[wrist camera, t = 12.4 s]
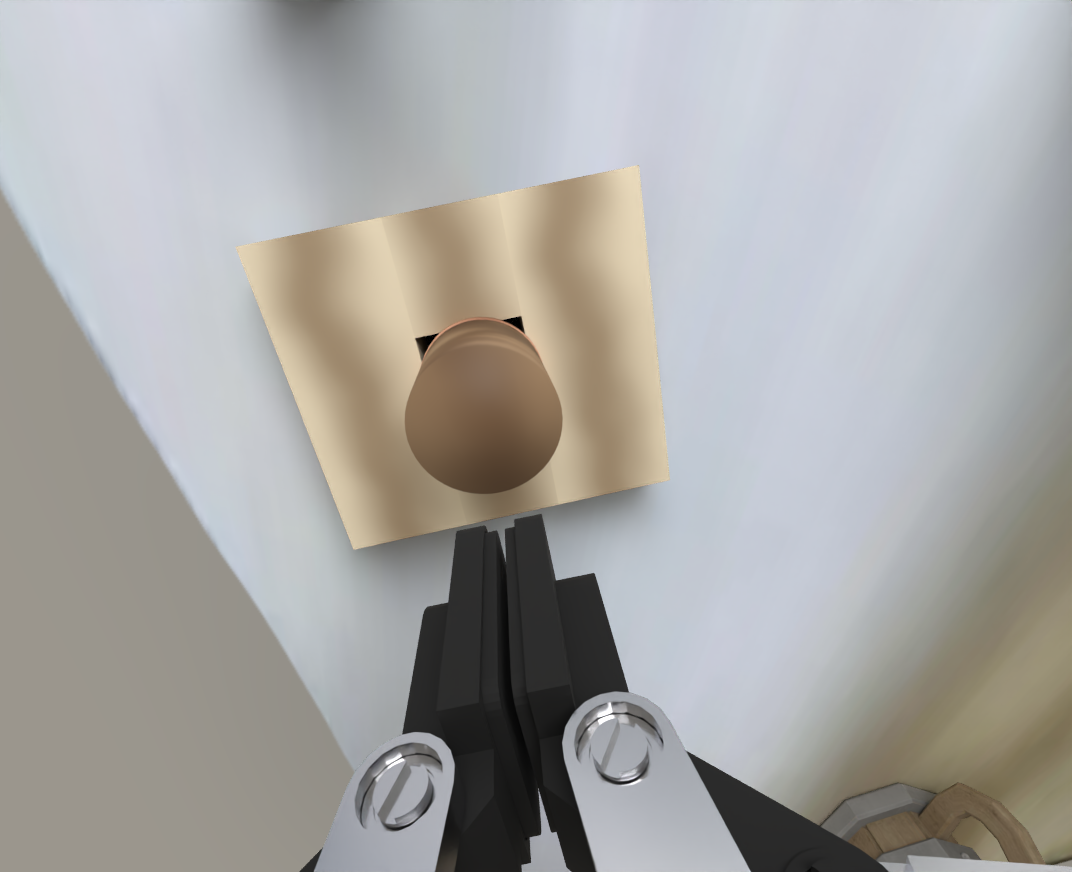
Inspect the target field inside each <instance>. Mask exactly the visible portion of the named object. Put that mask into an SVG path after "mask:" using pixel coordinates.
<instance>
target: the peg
mask: <svg viewBox="0 0 1072 872" xmlns="http://www.w3.org/2000/svg"><path fill="white" fill-rule="evenodd" d="M562 422H563V416H562V407H561V403H560V400H559V397H558V394H557V392H556V389H555V387H554V385H553V383H552V381H551V379H550V377H549V375H548V373H547V371H546V369H545V367H544V365H543V363H542V360H541V357H540V355H539V353H538V351H537V349H536V347H535V345H534V344H533V343H532V341H531V340H530V339H529V338H528V337H527V336H526V335H525V334H524V333H523V332H522V331H521V330H520V329H518V328H517V327H515V326H514V325H512V324H510V323H508V322H505V321H503V320H500V319H496V318H490V317H473V318H467V319H464V320H460V321H458V322H456V323H453V324H452V325H450V326H448V327H447V328H445V329H444V330H443V331H441V332H440V333H439V334H438V335H437V336H436V337H435V338H434V340H433V341H432V342H431V344H430V345H429V347H428V349H427V351H426V353H425V355H424V358H423V361H422V364H421V368H420V370H419V373H418V375H417V377H416V380H415V382H414V385H413V387H412V390H411V392H410V395H409V398H408V401H407V405H406V410H405V432H406V436H407V440H408V443H409V446H410V448H411V451H412V452H413V454H414V456H415V458H416V459H417V461H418V462H419V463H420V465H421V466H422V467H423V468H424V469H425V470H426V471H427V472H428V473H429V474H430V475H431V476H432V477H434V478H435V479H436V480H438V481H440V482H441V483H443V484H444V485H447V486H449V487H451V488H453V489H456V490H459V491H463V492H468V493H474V494H493V493H499V492H504V491H507V490H511V489H513V488H516V487H518V486H520V485H522V484H524V483H526V482H528V481H529V480H530V479H532V478H533V477H535V476H536V475H537V474H538V473H539V472H540V471H541V470H542V469H543V468H544V467H545V466H546V465H547V463H548V462H549V461H550V459H551V458H552V456H553V455H554V453H555V451H556V448H557V446H558V443H559V440H560V437H561V432H562Z"/></svg>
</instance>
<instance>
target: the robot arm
mask: <svg viewBox="0 0 1072 872" xmlns="http://www.w3.org/2000/svg"><path fill="white" fill-rule="evenodd" d="M514 523H515V527H512V528H507V529H505V545H506V562H505V558H504V554H503V550H502V546H501V542H500V538H499V535H498V532H497V531H492V532H488V531H487V529H486V526H480V527H475V528H470V529H465V530H460V531H457V533H456V540H455V549H454V558H453V566H452V575H451V584H450V593H449V601H448V603H444V604H439V605H434V606H429V607H427V608H426V609H425V611H424V614H423V619H422V625H421V630H420V636H419V642H418V648H417V653H416V659H415V665H414V670H413V676H412V682H411V688H410V693H409V699H408V705H407V711H406V716H405V722H404V728H403V734H402V735H399V736H397V737H395V738H393V739H391V740H389V741H387V742H385V743H383V744H382V745H380V746H379V747H378V748H377V749H375V750H374V751H373V752H372V753H370V754H369V755H368V756H367V757H366V759H365V760H364V761H363V762H362V763H361V765H360V766H359V767H358V768H357V769H356V771H355V773H354V775H353V777H352V778H351V780H350V782H349V784H348V786H347V788H346V791H345V793H344V796H343V798H342V801H341V803H340V806H339V809H338V811H337V814H336V816H335V819H334V821H333V824H332V826H331V829H330V831H329V834H328V837H327V839H326V842H325V844H324V847H323V848H322V849H321V850H320V851H319V852H318V853H317V854H316V855H315V856H314V857H313V858H312V859H311V860H310V862H308V863H307V864H306V866H305V867H304V868H303V869H302V870H301V871H300V872H522V868H521V865H523V864H527V863H531V855H530V838H529V837H533V836H538V835H541V818H540V805H539V793H538V788H539V792H540V795H541V799H542V802H543V806H544V809H545V812H546V816H547V819H548V823H549V826H550V830H551V832H552V833H553V832H557V835H558V838H559V842H560V845H561V849H562V853H563V856H564V860H565V863H566V867H567V868H568V869H569V870H570V871H571V872H1072V867H1068V866H1054V865H1040V864H1026V863H1012V862H998V861H984V860H970V859H956V858H942V857H928V856H914V855H907V860H906V864H902V863H889V862H877V861H876V860H875V859H873V858H872V857H870V856H869V855H868V854H866V853H865V852H863V851H862V850H861V849H859V848H857V847H856V846H854V845H852V844H850V843H849V842H847V841H845V840H843V839H842V838H840V837H838V836H836V835H834V834H833V833H831V832H829V831H827V830H826V829H824V828H822V827H820V826H818V825H817V824H815V823H813V822H811V821H810V820H808V819H806V818H804V817H803V816H801V815H799V814H797V813H795V812H794V811H792V810H790V809H788V808H787V807H785V806H783V805H781V804H780V803H778V802H776V801H774V800H772V799H771V798H769V797H767V796H765V795H764V794H762V793H760V792H758V791H757V790H755V789H753V788H751V787H749V786H748V785H746V784H744V783H742V782H741V781H739V780H737V779H735V778H733V777H732V776H730V775H728V774H726V773H725V772H723V771H721V770H719V769H718V768H716V767H714V766H712V765H710V764H709V763H707V762H705V761H703V760H702V759H700V758H698V757H696V756H695V755H693V754H691V753H689V752H687V751H686V750H685V748H684V746H683V744H682V742H681V741H680V739H679V737H678V735H677V733H676V731H675V729H674V728H673V726H672V724H671V722H670V721H669V719H668V718H667V717H666V715H665V714H664V713H663V711H662V710H661V709H660V708H659V707H658V706H656V705H655V704H654V703H652V702H651V701H650V700H648V699H647V698H644V697H641V696H639V695H636V694H633V693H629V691H628V687H627V684H626V680H625V677H624V673H623V670H622V667H621V663H620V660H619V656H618V653H617V649H616V646H615V642H614V639H613V635H612V632H611V628H610V625H609V621H608V618H607V614H606V611H605V608H604V604H603V601H602V597H601V594H600V590H599V587H598V583H597V580H596V577H595V574H594V573H592V574H587V575H582V576H577V577H572V578H567V579H562V580H557V581H556V579H555V574H554V569H553V564H552V560H551V555H550V550H549V546H548V541H547V536H546V532H545V527H544V522H543V518H542V514H539V515H534V516H529V517H524V518H519V519H515V520H514Z"/></svg>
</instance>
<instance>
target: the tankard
mask: <svg viewBox="0 0 1072 872" xmlns="http://www.w3.org/2000/svg"><path fill="white" fill-rule="evenodd" d="M969 816H972V817H974V818H976V819H977V820H979V821H981V822H982V823H983V824H984V826H985V827H986V828H987V829H988V830H989V831H990V832H991V833H992V834H993V836H994V837H995V838H996V839H997V840H998V842H999V844H1000V846H1001V848H1002V850H1003V852H1004V854H1005V856H1006V858H1007V860H1008V862H1012V863H1026V864H1040V865H1046V864H1045V862H1044V860H1043V858H1042V856H1041V854H1040V853H1039V851H1038V849H1037V847H1036V845H1035V843H1034V842H1033V840H1032V838H1031V836H1030V834H1029V832H1028V831H1027V830H1026V828H1025V827H1024V826H1023V825H1022V824H1021V823H1020V822H1019V821H1018V820H1017V819H1016V818H1015V817H1014V816H1013V815H1012V814H1011V813H1010V812H1009V811H1008V810H1007V809H1006V808H1005V807H1004V806H1003V805H1002V804H1001V803H1000V802H998V801H996V800H994V799H992V798H990V797H988V796H986V795H984V794H982V793H980V792H978V791H976V790H974V789H972V788H971V787H969V786H967V785H964V784H961V783H956V784H954V785H953V786H951V787H949V788H948V789H946V790H944V791H942V792H941V793H939V794H934V793H930V792H927V791H924V790H920V789H917V788H914V787H911V786H907V785H904V784H901V783H896V784H892V785H889V786H886V787H883V788H880V789H877V790H874V791H871V792H868V793H865V794H861V795H858V796H855V797H852V798H849V799H846V800H845V801H844V802H843V803H842V804H841V805H840V806H839V807H838V808H837V809H836V810H835V811H834V812H833V813H832V814H831V815H830V816H829V817H828V818H827V819H826V820H825V821H824V822H823V823H822V824H821V825H820V827H822V828H824V829H826V830H827V831H829V832H831V833H833V834H834V835H836V836H838V837H840V838H842V839H843V840H845V841H847V842H849V843H850V844H852V845H854V846H856V847H857V848H859V849H861V850H862V851H863V852H865V853H866V854H868V855H869V856H870V857H872V858H873V859H875V860H876V861H877V862H889V863H902V864H906V860H907V855H914V856H928V857H942V858H956V859H970V860H981V859H980V858H979V856H978V855H977V854H976V853H975V851H974V850H973V849H972V848H970V847H966V846H962V845H959V844H958V842H957V841H956V840H955V839H954V837H953V836H952V835H951V834H952V832H953V831H954V830H955V828H956V827H957V825H958V824H959V823H960V821H961V820H962V819H964V818H967V817H969Z"/></svg>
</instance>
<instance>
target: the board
mask: <svg viewBox="0 0 1072 872" xmlns="http://www.w3.org/2000/svg"><path fill="white" fill-rule="evenodd" d="M236 249H237V252H238V254H239V257H240V260H241V262H242V265H243V267H244V270H245V272H246V275H247V277H248V280H249V283H250V285H251V288H252V290H253V293H254V295H255V298H256V301H257V303H258V306H259V308H260V311H261V313H262V316H263V319H264V321H265V324H266V326H267V329H268V331H269V334H270V336H271V339H272V342H273V344H274V347H275V349H276V352H277V354H278V357H279V360H280V362H281V365H282V367H283V370H284V372H285V375H286V378H287V380H288V383H289V385H290V388H291V390H292V393H293V395H294V398H295V401H296V403H297V406H298V408H299V411H300V413H301V416H302V419H303V421H304V424H305V426H306V429H307V431H308V434H309V436H310V439H311V442H312V444H313V447H314V449H315V452H316V454H317V457H318V460H319V462H320V465H321V467H322V470H323V472H324V475H325V478H326V480H327V483H328V485H329V488H330V490H331V493H332V495H333V498H334V501H335V503H336V506H337V508H338V511H339V513H340V516H341V519H342V521H343V524H344V526H345V529H346V531H347V534H348V537H349V539H350V542H351V544H352V547H353V549H354V550H355V549H359V548H364V547H369V546H373V545H378V544H382V543H387V542H391V541H396V540H400V539H405V538H409V537H414V536H418V535H423V534H428V533H432V532H437V531H441V530H446V529H450V528H455V527H459V526H464V525H468V524H473V523H477V522H482V521H487V520H491V519H496V518H500V517H505V516H509V515H514V514H518V513H523V512H527V511H532V510H536V509H541V508H546V507H550V506H555V505H559V504H564V503H568V502H573V501H577V500H582V499H586V498H591V497H595V496H600V495H605V494H609V493H614V492H618V491H623V490H627V489H632V488H636V487H641V486H645V485H650V484H654V483H659V482H664V481H668V480H670V477H669V467H668V456H667V446H666V436H665V426H664V416H663V406H662V395H661V385H660V375H659V365H658V355H657V345H656V334H655V324H654V314H653V304H652V294H651V284H650V273H649V263H648V253H647V243H646V233H645V223H644V212H643V202H642V192H641V182H640V172H639V165H637V166H632V167H627V168H622V169H617V170H613V171H608V172H603V173H598V174H593V175H588V176H583V177H578V178H573V179H568V180H563V181H558V182H553V183H548V184H543V185H539V186H534V187H529V188H524V189H519V190H514V191H509V192H504V193H499V194H494V195H489V196H484V197H479V198H474V199H469V200H464V201H460V202H455V203H450V204H445V205H440V206H435V207H430V208H425V209H420V210H415V211H410V212H405V213H400V214H395V215H390V216H386V217H381V218H376V219H371V220H366V221H361V222H356V223H351V224H346V225H341V226H336V227H331V228H326V229H321V230H316V231H312V232H307V233H302V234H297V235H292V236H287V237H282V238H277V239H272V240H267V241H262V242H257V243H252V244H247V245H242V246H237V247H236ZM473 317H490V318H496V319H500V320H504V319H509V318H514V317H519V322H520V327H521V331H522V332H523V333H524V334H525V335H526V336H527V337H528V338H529V339H530V340H531V341H532V343H533V344H534V345H535V347H536V349H537V351H538V353H539V355H540V357H541V360H542V363H543V365H544V367H545V369H546V371H547V373H548V375H549V377H550V379H551V381H552V383H553V385H554V387H555V389H556V392H557V394H558V397H559V400H560V403H561V407H562V416H563V422H562V432H561V437H560V440H559V443H558V446H557V448H556V451H555V453H554V455H553V456H552V458H551V459H550V461H549V462H548V463H547V465H546V466H545V467H544V468H543V469H542V470H541V471H540V472H539V473H538V474H537V475H536V476H535V477H533V478H532V479H530V480H529V481H528V482H526V483H524V484H522V485H520V486H518V487H516V488H513V489H511V490H507V491H504V492H499V493H493V494H474V493H468V492H463V491H459V490H456V489H453V488H451V487H449V486H447V485H444V484H443V483H441V482H440V481H438V480H436V479H435V478H434V477H432V476H431V475H430V474H429V473H428V472H427V471H426V470H425V469H424V468H423V467H422V466H421V465H420V463H419V462H418V461H417V459H416V458H415V456H414V454H413V452H412V451H411V448H410V446H409V443H408V440H407V436H406V432H405V410H406V405H407V401H408V398H409V395H410V392H411V390H412V387H413V385H414V382H415V380H416V377H417V375H418V373H419V370H420V368H421V364H422V361H423V358H424V355H425V353H426V351H427V349H428V345H427V342H426V338H425V336H428V335H433V334H437V333H440V332H441V331H443V330H444V329H445V328H447V327H448V326H450V325H452V324H453V323H456V322H458V321H460V320H464V319H467V318H473Z"/></svg>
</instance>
